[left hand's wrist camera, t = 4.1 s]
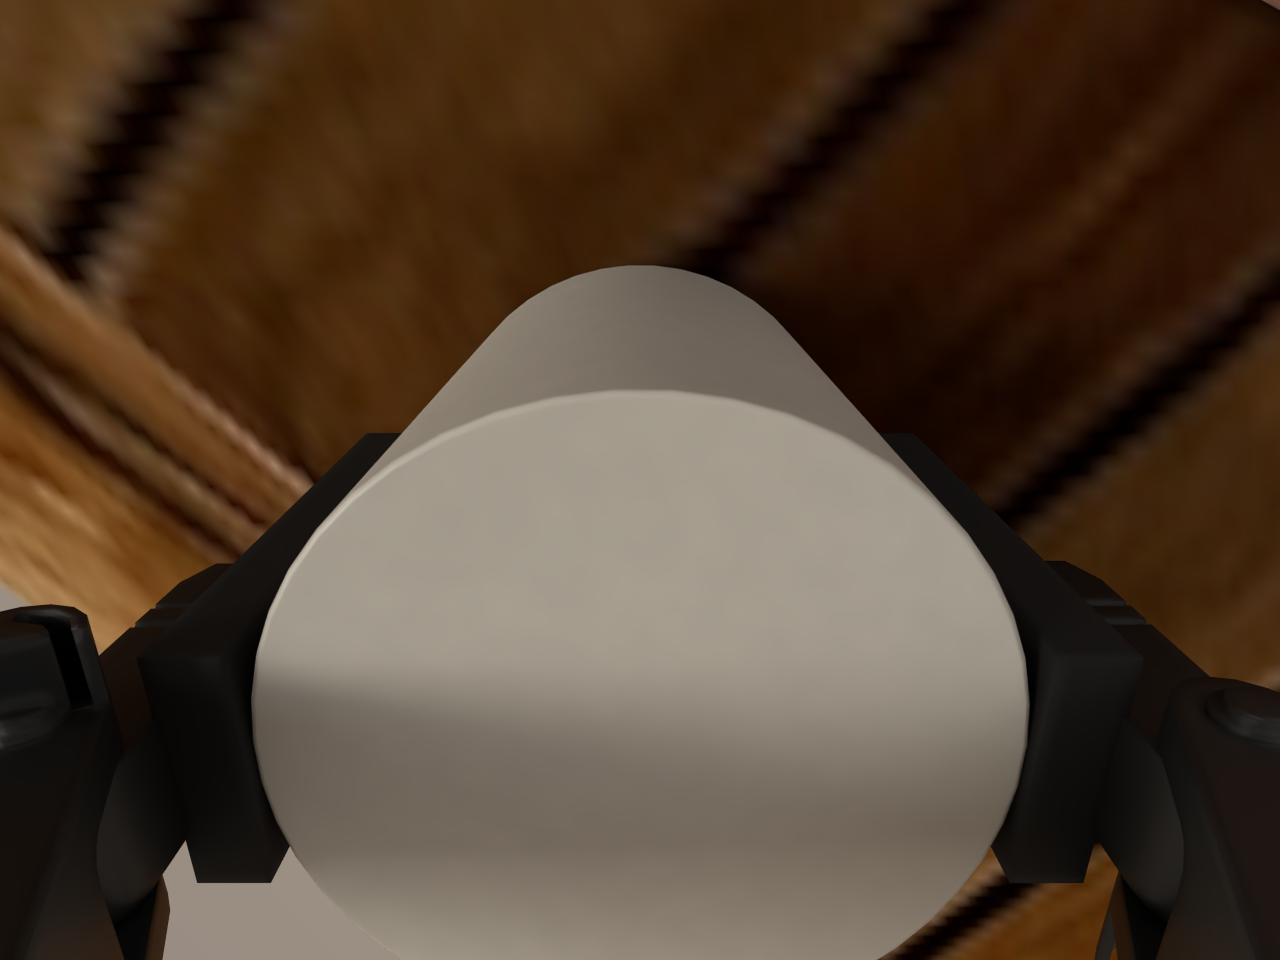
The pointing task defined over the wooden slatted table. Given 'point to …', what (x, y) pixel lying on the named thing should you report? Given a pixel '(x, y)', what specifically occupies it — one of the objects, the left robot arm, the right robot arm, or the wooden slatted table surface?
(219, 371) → the wooden slatted table surface
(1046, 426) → the wooden slatted table surface
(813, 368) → the can
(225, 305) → the wooden slatted table surface
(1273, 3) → the anatomical model
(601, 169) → the wooden slatted table surface
